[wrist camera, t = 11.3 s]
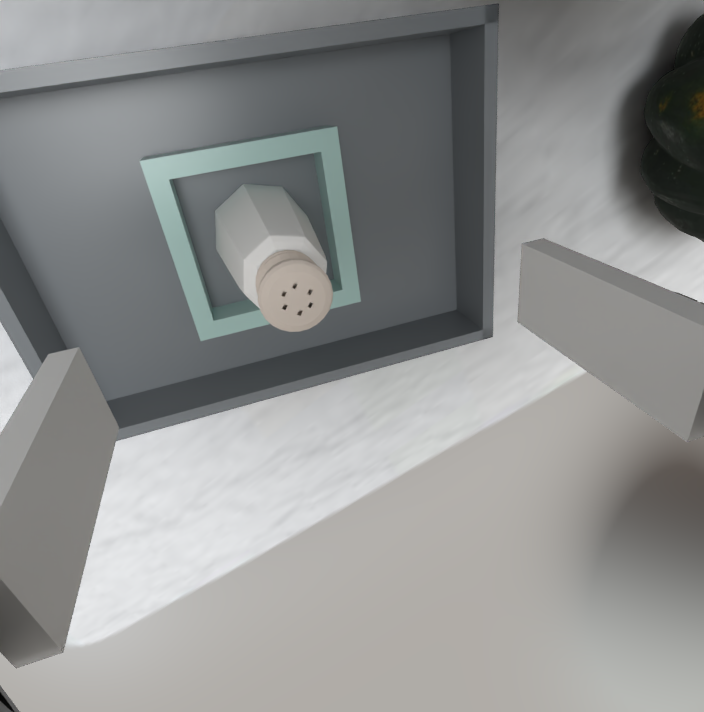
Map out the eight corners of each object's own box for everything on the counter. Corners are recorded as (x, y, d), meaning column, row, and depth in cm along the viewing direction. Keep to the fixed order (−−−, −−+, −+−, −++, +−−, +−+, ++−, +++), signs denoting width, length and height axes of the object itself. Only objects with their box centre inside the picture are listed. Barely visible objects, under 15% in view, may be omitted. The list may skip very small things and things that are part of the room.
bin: (-73, 91, 21) (-133, 87, 17) (452, 19, 25) (498, 3, 21) (90, 407, 29) (75, 452, 26) (459, 311, 34) (492, 336, 30)
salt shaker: (196, 255, 26) (197, 338, 17) (234, 161, 24) (258, 195, 15) (284, 291, 28) (328, 381, 19) (324, 208, 27) (393, 262, 18)
